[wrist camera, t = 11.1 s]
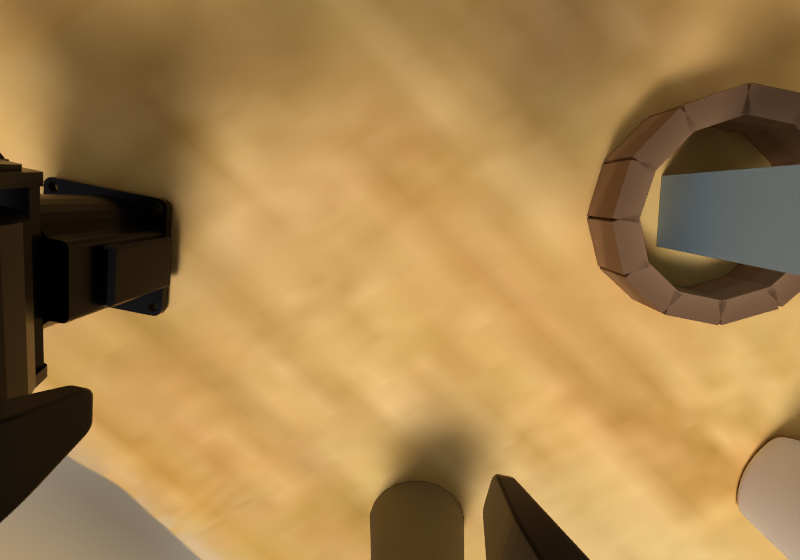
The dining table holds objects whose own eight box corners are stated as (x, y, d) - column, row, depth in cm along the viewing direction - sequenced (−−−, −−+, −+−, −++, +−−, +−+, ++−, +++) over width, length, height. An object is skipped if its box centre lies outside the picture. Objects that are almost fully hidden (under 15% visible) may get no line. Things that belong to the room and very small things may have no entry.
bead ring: (565, 286, 20) (586, 298, 18) (628, 81, 18) (661, 64, 16) (751, 323, 21) (796, 340, 18) (835, 124, 18) (901, 113, 16)
